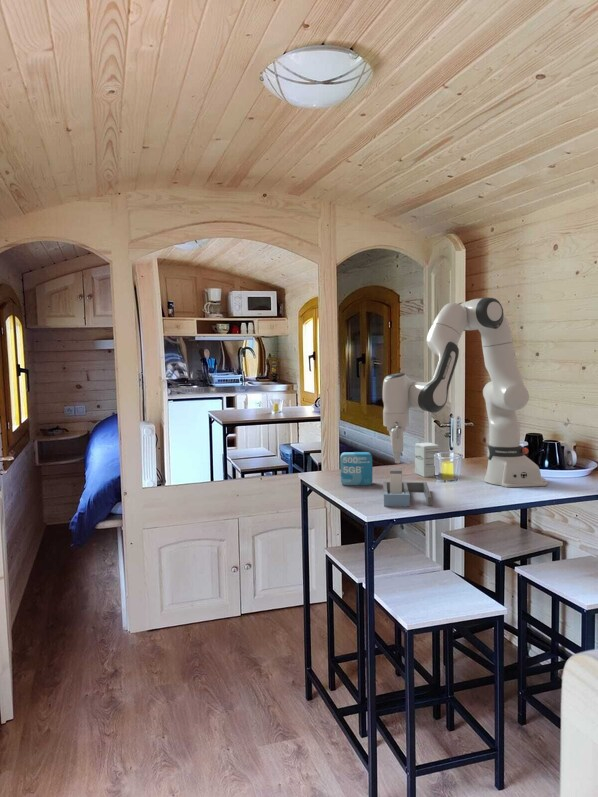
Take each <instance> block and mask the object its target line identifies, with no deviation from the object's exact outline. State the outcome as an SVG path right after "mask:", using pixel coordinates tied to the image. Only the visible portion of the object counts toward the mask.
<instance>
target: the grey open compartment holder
mask: <svg viewBox="0 0 598 797" xmlns="http://www.w3.org/2000/svg"><path fill="white" fill-rule="evenodd" d="M382 485H383V486H382V487H383V488H382V489H383V506H384V507H397V506H399V507H398V508H400V507H402V506H403V508H404V507H405V508H407V507H406V506H410V507H411V503H410V501H411V496H410V495H411V494H410V492H423V493H424V497H425V501H426V504H427V506H428V507H432V506H433V501H432V500H433V498H432V494H431V491H430V488H429V485H428V483H427V481H402V492H403V493H402V494H390V493H388V491H389V492H390V481H383V484H382Z"/></svg>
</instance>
